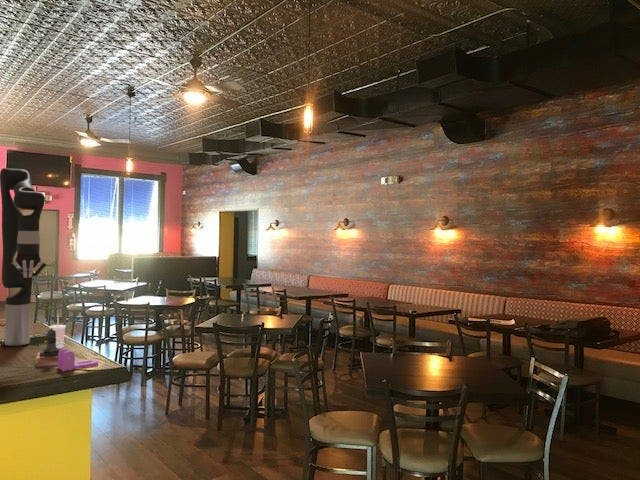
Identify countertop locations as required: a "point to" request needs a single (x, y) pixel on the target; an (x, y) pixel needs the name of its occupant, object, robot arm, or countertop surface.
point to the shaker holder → (45, 360)
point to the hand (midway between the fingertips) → (27, 287)
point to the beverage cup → (59, 333)
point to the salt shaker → (51, 344)
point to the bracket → (72, 361)
